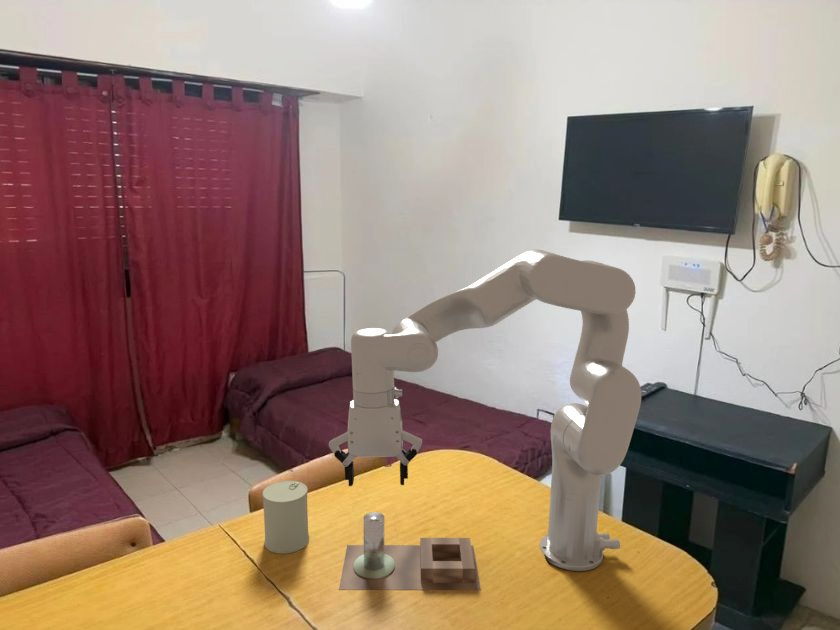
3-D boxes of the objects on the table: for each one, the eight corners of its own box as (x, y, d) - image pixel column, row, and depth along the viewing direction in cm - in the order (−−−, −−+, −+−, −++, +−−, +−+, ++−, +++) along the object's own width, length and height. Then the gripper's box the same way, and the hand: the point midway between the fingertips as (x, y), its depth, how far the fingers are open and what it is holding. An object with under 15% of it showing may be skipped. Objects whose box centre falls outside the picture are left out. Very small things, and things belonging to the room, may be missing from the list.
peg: (384, 558, 118) (384, 512, 116) (383, 570, 114) (384, 523, 112) (364, 558, 118) (364, 512, 116) (363, 570, 114) (362, 523, 112)
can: (318, 535, 128) (316, 484, 126) (290, 558, 120) (288, 504, 118) (284, 524, 132) (282, 474, 130) (255, 546, 124) (252, 493, 122)
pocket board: (473, 549, 124) (473, 532, 123) (480, 594, 110) (481, 575, 109) (347, 549, 123) (346, 531, 123) (339, 594, 110) (338, 575, 109)
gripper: (420, 388, 113) (422, 472, 117) (329, 390, 113) (333, 474, 116) (421, 402, 106) (423, 491, 109) (323, 404, 105) (328, 493, 109)
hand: (376, 482), depth 113 cm, fingers open, 9 cm apart
